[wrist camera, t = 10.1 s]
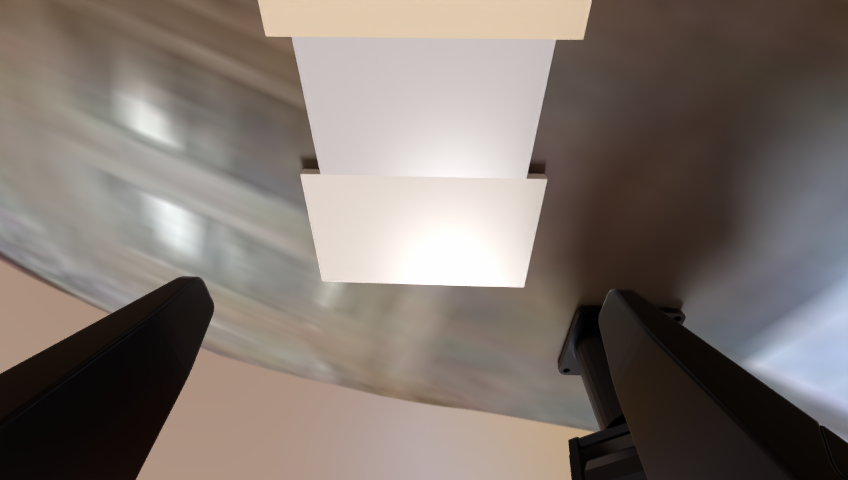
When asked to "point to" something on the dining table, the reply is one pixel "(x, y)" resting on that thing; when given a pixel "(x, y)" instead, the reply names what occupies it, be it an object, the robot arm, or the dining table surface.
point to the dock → (424, 132)
